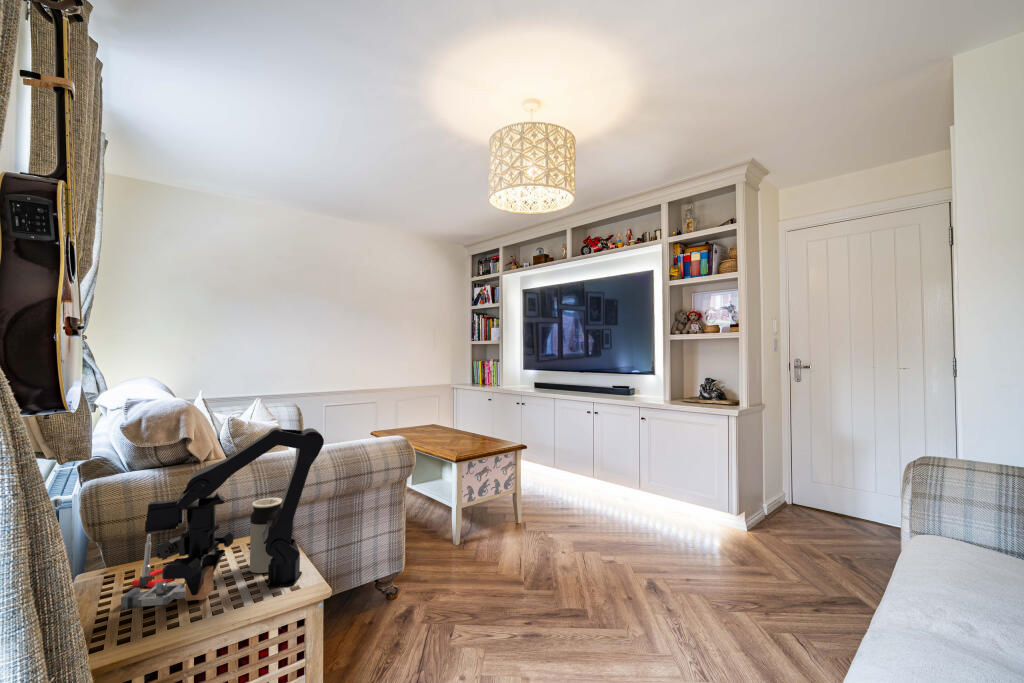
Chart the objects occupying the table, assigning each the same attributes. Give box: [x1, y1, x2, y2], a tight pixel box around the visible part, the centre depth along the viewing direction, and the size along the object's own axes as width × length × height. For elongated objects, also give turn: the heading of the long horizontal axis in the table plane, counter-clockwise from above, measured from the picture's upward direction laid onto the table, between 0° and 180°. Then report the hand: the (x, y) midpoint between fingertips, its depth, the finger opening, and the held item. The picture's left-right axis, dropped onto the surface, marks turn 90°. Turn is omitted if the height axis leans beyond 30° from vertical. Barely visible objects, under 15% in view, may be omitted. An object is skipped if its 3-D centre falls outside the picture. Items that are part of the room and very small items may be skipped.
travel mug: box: [249, 497, 283, 574], centre depth 124 cm, size 8×8×18 cm
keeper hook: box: [120, 582, 168, 610], centre depth 105 cm, size 8×4×4 cm, turn 96°
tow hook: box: [131, 533, 175, 589], centre depth 117 cm, size 8×13×9 cm
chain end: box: [137, 566, 214, 608], centre depth 106 cm, size 14×6×6 cm, turn 96°
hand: (200, 589), depth 107 cm, fingers closed on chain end, 4 cm apart
